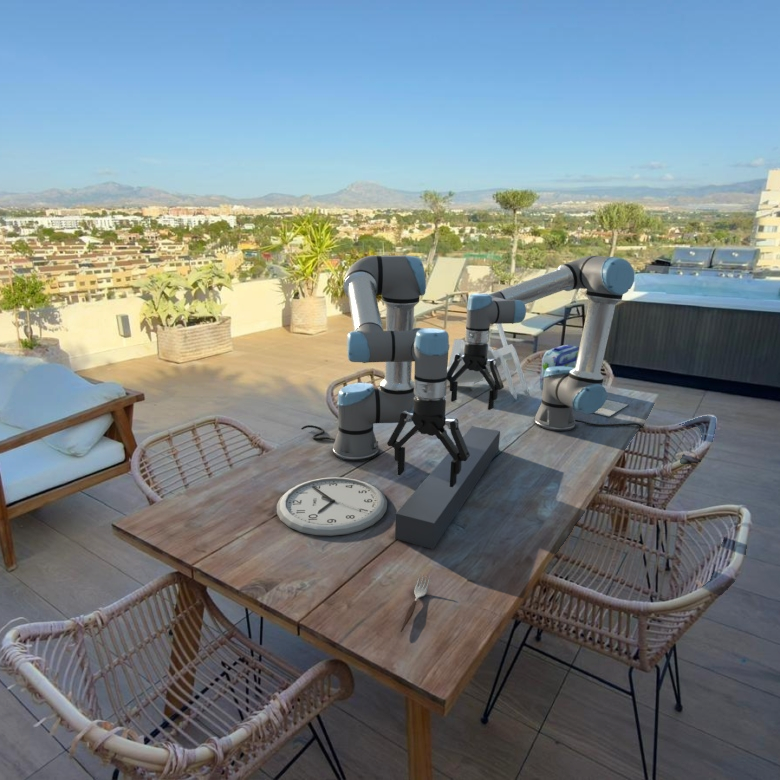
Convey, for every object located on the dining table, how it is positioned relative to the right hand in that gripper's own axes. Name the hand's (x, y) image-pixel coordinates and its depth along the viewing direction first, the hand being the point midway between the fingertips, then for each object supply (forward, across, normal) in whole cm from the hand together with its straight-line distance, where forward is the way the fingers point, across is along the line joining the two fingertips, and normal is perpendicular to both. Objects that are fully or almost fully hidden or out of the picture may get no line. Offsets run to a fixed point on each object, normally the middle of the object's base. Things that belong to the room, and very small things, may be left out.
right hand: (471, 404), depth 175 cm
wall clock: (+17, -14, -56) cm, 60 cm away
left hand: (+2, +13, -52) cm, 54 cm away
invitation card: (+16, +27, +76) cm, 82 cm away
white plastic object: (+16, -25, +63) cm, 69 cm away
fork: (+17, +25, -78) cm, 83 cm away
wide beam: (+16, +9, -27) cm, 33 cm away
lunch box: (+16, +4, +90) cm, 92 cm away
